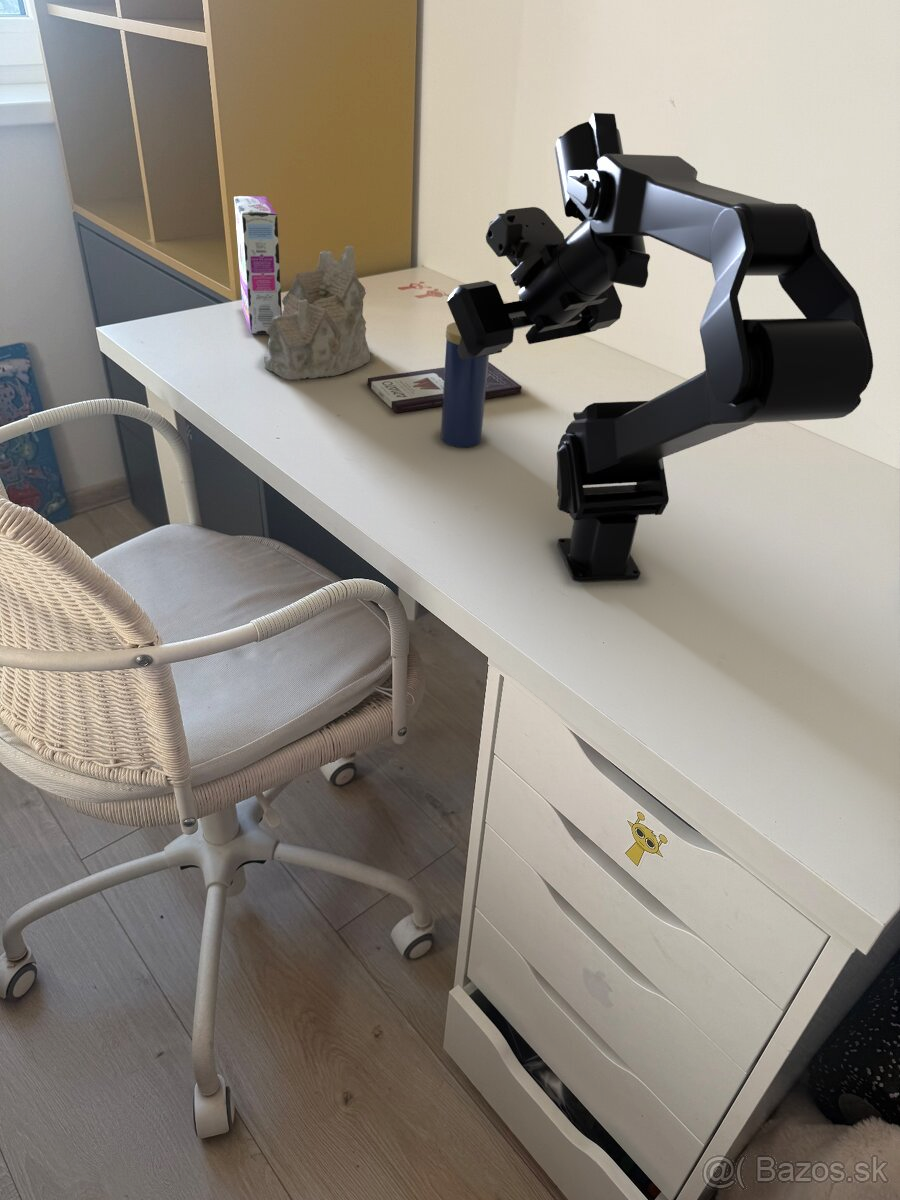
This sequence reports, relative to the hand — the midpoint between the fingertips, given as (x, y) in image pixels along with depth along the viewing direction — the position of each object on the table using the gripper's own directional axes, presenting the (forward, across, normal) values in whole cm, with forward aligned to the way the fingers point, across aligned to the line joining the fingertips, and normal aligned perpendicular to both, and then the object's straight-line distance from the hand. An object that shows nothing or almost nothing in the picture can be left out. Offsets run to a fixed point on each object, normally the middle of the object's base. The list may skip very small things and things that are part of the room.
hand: (495, 347), depth 87 cm
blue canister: (+12, 0, +6) cm, 13 cm away
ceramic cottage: (+34, +3, -16) cm, 38 cm away
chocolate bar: (+21, -7, -3) cm, 22 cm away
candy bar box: (+44, +3, -27) cm, 52 cm away
